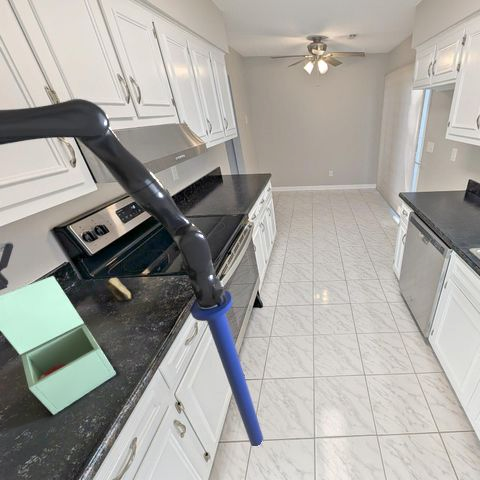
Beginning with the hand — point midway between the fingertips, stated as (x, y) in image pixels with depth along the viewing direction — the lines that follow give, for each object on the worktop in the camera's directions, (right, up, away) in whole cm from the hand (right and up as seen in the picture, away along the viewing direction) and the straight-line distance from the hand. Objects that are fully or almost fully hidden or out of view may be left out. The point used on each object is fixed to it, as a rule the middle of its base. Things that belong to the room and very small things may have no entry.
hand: (3, 288), depth 60 cm
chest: (+4, -29, +15) cm, 33 cm away
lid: (-4, -9, +11) cm, 15 cm away
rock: (-9, -12, +50) cm, 52 cm away
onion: (+4, -28, +14) cm, 31 cm away
